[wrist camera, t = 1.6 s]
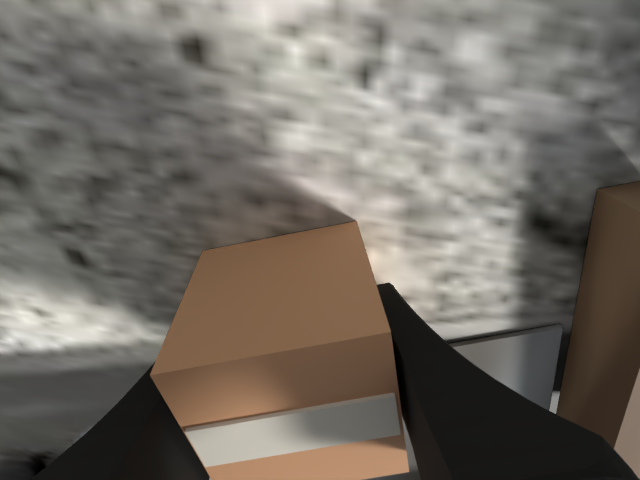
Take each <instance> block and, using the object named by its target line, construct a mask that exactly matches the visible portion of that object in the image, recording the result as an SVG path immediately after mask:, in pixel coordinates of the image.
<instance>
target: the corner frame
mask: <svg viewBox="0 0 640 480" xmlns="http://www.w3.org/2000/svg"><path fill="white" fill-rule="evenodd" d="M562 331H563V327H562V326H561V325H560V324H558V325H553V326H547V327H541V328H536V329H530V330H524V331H519V332H513V333H507V334H502V335H496V336H491V337H485V338H479V339H474V340H468V341H462V342H457V343H451V344H449V345H450V346H451V347H453V348H454V349H455V350H456V351H458V352H459V353H460V354H461V355H463V356H464V357H465V358H466V359H468V360H469V361H470V362H472V363H473V364H474V365H476V366H477V367H479V368H480V369H481V370H483V371H484V372H486V373H487V374H489V375H490V376H491V377H493V378H494V379H496V380H498V381H499V382H501V383H502V384H504V385H506V386H507V387H509V388H511V389H512V390H514V391H515V392H517V393H519V394H520V395H522V396H523V397H525V398H527V399H528V400H530V401H532V402H534V403H536V404H537V405H539V406H541V407H543V408H545V409H547V410H548V411H549V408H550V402H551V396H552V390H553V385H554V379H555V373H556V367H557V361H558V355H559V349H560V343H561V337H562ZM556 415H558V416H560V417H562V418H565V419H567V420H569V421H571V422H573V423H575V424H577V425H579V426H581V427H583V428H585V429H588V430H590V431H592V432H594V433H596V434H598V435H600V436H602V437H603V438H604V439H605V440H606V441H607V442H608V443H609V444H610V446H611V447H612V448H613V449H614V450H615V451H616V452H617V453H618V454H619V455H620V456H621V457H622V459H623V460H624V461H625V462H626V463H627V464H628V465H629V467H630V468H631V469H632V470H633V472H634V473H635V474H636V475H637V477H638V478H639V479H640V181H638V182H632V183H627V184H622V185H617V186H612V187H606V188H601V189H597V193H596V199H595V204H594V210H593V215H592V221H591V226H590V232H589V237H588V243H587V248H586V254H585V259H584V264H583V270H582V275H581V281H580V286H579V292H578V297H577V303H576V308H575V314H574V319H573V325H572V330H571V336H570V341H569V347H568V352H567V358H566V363H565V369H564V374H563V380H562V385H561V391H560V396H559V401H558V408H557V413H556ZM402 420H403V417H402ZM403 428H404V436H405V443H406V451H407V459H408V466H409V472H406V473H400V474H394V475H387V476H381V477H375V478H369V479H363V480H421V479H420V475H419V471H418V467H417V463H416V459H415V455H414V452H413V448H412V444H411V441H410V438H409V435H408V431H407V429H406V426H405V423H404V420H403Z"/></svg>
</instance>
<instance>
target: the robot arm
mask: <svg viewBox="0 0 640 480" xmlns="http://www.w3.org/2000/svg"><path fill="white" fill-rule="evenodd" d="M377 288H378V291H379V295H380V298H381V301H382V304H383V308H384V311H385V314H386V317H387V320H388V324H389V327H390V330H391V335H392V343H393V351H394V358H395V366H396V374H397V382H398V389H399V397H400V405H401V412H402V417H403V420H404V423H405V426H406V429H407V431H408V435H409V438H410V441H411V444H412V448H413V452H414V455H415V459H416V463H417V467H418V471H419V475H420V479H421V480H640V479H639V478H638V477H637V475H636V474H635V473H634V472H633V470H632V469H631V468H630V467H629V465H628V464H627V463H626V462H625V461H624V460H623V459H622V457H621V456H620V455H619V454H618V453H617V452H616V451H615V450H614V449H613V448H612V447H611V446H610V444H609V443H608V442H607V441H606V440H605V439H604V438H603V437H602V436H600V435H598V434H596V433H594V432H592V431H590V430H588V429H585V428H583V427H581V426H579V425H577V424H575V423H573V422H571V421H569V420H567V419H565V418H562V417H560V416H558V415H556V414H554V413H552V412H550V411H548V410H547V409H545V408H543V407H541V406H539V405H537V404H536V403H534V402H532V401H530V400H528V399H527V398H525V397H523V396H522V395H520V394H519V393H517V392H515V391H514V390H512V389H511V388H509V387H507V386H506V385H504V384H502V383H501V382H499V381H498V380H496V379H494V378H493V377H491V376H490V375H489V374H487V373H486V372H484V371H483V370H481V369H480V368H479V367H477V366H476V365H474V364H473V363H472V362H470V361H469V360H468V359H466V358H465V357H464V356H463V355H461V354H460V353H459V352H458V351H456V350H455V349H454V348H453V347H451V346H450V345H449V344H448V343H447V342H446V341H445V340H443V339H442V338H441V337H440V336H439V335H438V334H437V333H436V332H435V331H433V330H432V329H431V328H430V327H429V326H428V325H427V324H426V323H425V322H424V321H423V320H422V319H421V318H420V317H419V316H418V315H417V314H416V313H415V312H414V310H413V309H412V308H411V307H410V306H409V305H408V304H407V303H406V301H405V300H404V299H403V298H402V297H401V295H400V294H399V293H398V292H397V290H396V289H395V288H394V286H393V285H392V284H390V283H385V284H379V285H377ZM155 362H156V361H155ZM155 362H154V364H155ZM154 364H153V365H152V366H151V367H150V368H149V370H148V371H147V372H146V373H145V374H144V375H143V376H142V377H141V378H140V380H139V381H138V382H137V383H136V384H135V385H134V386H133V387H132V388H131V389H130V390H129V392H128V393H127V394H126V395H125V396H124V397H123V398H122V399H121V400H120V401H119V402H118V403H117V404H116V405H115V406H114V407H113V408H112V409H111V410H110V411H109V412H108V413H107V414H106V415H105V416H104V417H103V418H102V419H101V420H100V421H99V422H98V423H97V424H96V425H95V426H94V427H92V428H91V429H90V430H89V431H88V432H87V433H86V434H85V435H84V436H82V437H81V438H80V439H79V440H78V441H77V442H75V443H74V444H73V445H72V446H71V447H70V448H68V449H67V450H66V451H65V452H64V453H62V454H61V455H60V456H59V457H58V458H57V459H55V460H54V461H53V462H52V463H51V464H49V465H48V466H47V467H46V468H44V469H43V470H42V471H41V472H39V473H38V474H37V475H35V476H34V477H33V478H32V479H30V480H209V478H210V476H209V474H208V473H207V471H206V469H205V468H204V466H203V464H202V462H201V461H200V459H199V457H198V456H197V454H196V452H195V451H194V449H193V447H192V446H191V444H190V442H189V441H188V439H187V437H186V435H185V434H184V432H183V430H182V429H181V427H180V425H179V424H178V422H177V420H176V419H175V417H174V415H173V413H172V412H171V410H170V408H169V407H168V405H167V403H166V402H165V400H164V398H163V397H162V395H161V393H160V392H159V390H158V388H157V386H156V385H155V383H154V381H153V380H152V378H151V376H150V374H151V371H152V369H153V366H154Z"/></svg>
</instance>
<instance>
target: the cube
mask: <svg viewBox="0 0 640 480" xmlns="http://www.w3.org/2000/svg"><path fill="white" fill-rule="evenodd" d="M150 376H151V378H152V380H153V381H154V383H155V385H156V386H157V388H158V390H159V392H160V393H161V395H162V397H163V398H164V400H165V402H166V403H167V405H168V407H169V408H170V410H171V412H172V413H173V415H174V417H175V419H176V420H177V422H178V424H179V425H180V427H181V429H182V430H183V432H184V434H185V435H186V437H187V439H188V441H189V442H190V444H191V446H192V447H193V449H194V451H195V452H196V454H197V456H198V457H199V459H200V461H201V462H202V464H203V466H204V468H205V469H206V471H207V473H208V474H209V476H210V478H211V479H212V480H363V479H369V478H375V477H381V476H387V475H394V474H400V473H406V472H409V466H408V459H407V451H406V443H405V436H404V428H403V420H402V412H401V405H400V397H399V389H398V382H397V374H396V366H395V358H394V351H393V343H392V335H391V330H390V327H389V324H388V320H387V317H386V314H385V311H384V308H383V304H382V301H381V298H380V295H379V291H378V288H377V285H376V282H375V279H374V275H373V272H372V269H371V266H370V262H369V259H368V256H367V253H366V250H365V246H364V243H363V240H362V237H361V233H360V230H359V227H358V224H357V221H354V222H349V223H344V224H339V225H333V226H328V227H323V228H318V229H313V230H308V231H302V232H297V233H292V234H287V235H282V236H277V237H271V238H266V239H261V240H256V241H251V242H245V243H240V244H235V245H230V246H225V247H220V248H214V249H209V250H204V251H202V253H201V256H200V258H199V260H198V263H197V265H196V267H195V270H194V272H193V274H192V277H191V279H190V281H189V284H188V286H187V289H186V291H185V293H184V296H183V298H182V300H181V303H180V305H179V307H178V310H177V312H176V315H175V317H174V319H173V322H172V324H171V326H170V329H169V331H168V333H167V336H166V338H165V340H164V343H163V345H162V348H161V350H160V352H159V355H158V357H157V359H156V362H155V364H154V366H153V369H152V371H151V374H150Z"/></svg>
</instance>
